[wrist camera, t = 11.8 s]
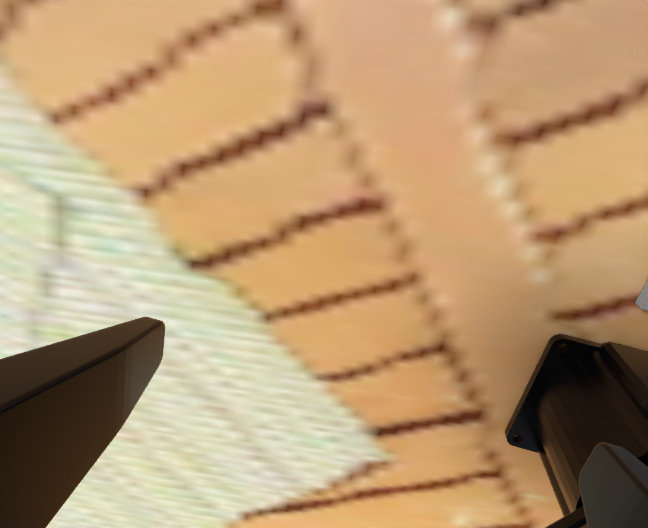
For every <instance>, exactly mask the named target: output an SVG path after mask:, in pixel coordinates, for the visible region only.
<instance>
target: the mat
mask: <svg viewBox="0 0 648 528" xmlns="http://www.w3.org/2000/svg"><path fill="white" fill-rule="evenodd" d="M635 303H636V304H637V305H638V306H639V307H640V308H641V309H644V310H647V311H648V280H647V282H646V284H645V285H644V287H643V289H642V291H641V293H640V294H639V296H638V298H637V300H636V302H635Z"/></svg>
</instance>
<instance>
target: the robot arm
mask: <svg viewBox="0 0 648 528" xmlns="http://www.w3.org/2000/svg"><path fill="white" fill-rule="evenodd" d="M164 336H165V324H164V323H163V321H160V320H156V319H153V318H149V317H142V318H139V319H135V320H132V321H128V322H125V323H122V324H118V325H115V326H112V327H108V328H105V329H101V330H98V331H95V332H91V333H88V334H84V335H81V336H78V337H74V338H71V339H67V340H64V341H61V342H57V343H54V344H50V345H47V346H44V347H40V348H37V349H33V350H30V351H27V352H23V353H20V354H16V355H13V356H10V357H6V358H3V359H0V528H46V527H47V525H48V524H49V523H50V521H51V520H52V519H53V517H54V516H55V515H56V513H57V512H58V511H59V509H60V508H61V507H62V506H63V504H64V503H65V502H66V500H67V499H68V498H69V496H70V495H71V494H72V492H73V491H74V490H75V488H76V487H77V486H78V484H79V483H80V482H81V481H82V479H83V478H84V477H85V475H86V474H87V473H88V471H89V470H90V469H91V467H92V466H93V465H94V463H95V462H96V461H97V460H98V458H99V457H100V456H101V454H102V453H103V452H104V450H105V449H106V448H107V446H108V445H109V444H110V442H111V441H112V440H113V438H114V437H115V436H116V434H117V433H118V432H119V430H120V429H121V428H122V426H123V425H124V423H125V421H126V420H127V418H128V417H129V415H130V413H131V412H132V410H133V408H134V407H135V405H136V403H137V402H138V400H139V398H140V397H141V395H142V393H143V392H144V390H145V388H146V387H147V385H148V383H149V382H150V380H151V378H152V377H153V375H154V373H155V372H156V370H157V368H158V367H159V365H160V363H161V360H162V357H163V348H164ZM561 343H565V346H564V347H563V348H557V346H558V345H559V344H561ZM516 434H519V436H517V437H513V435H516ZM505 435H506V438H507V442H508V443H509V444H511V445H513V446H516V447H520V448H523V449H527V450H530V451H534V452H538V453H539V454H540V457H541V459H542V462H543V465H544V467H545V470H546V472H547V475H548V477H549V480H550V482H551V485H552V487H553V490H554V492H555V495H556V498H557V500H558V503H559V505H560V508H561V510H562V513H563V515H564V517H563V518H561V519H559V520H558V521H556V522H554V523H553V524H551V525H549V526H547V527H546V528H648V352H646V351H642V350H639V349H635V348H631V347H627V346H623V345H619V344H615V343H612V342H608V343H603V344H598V343H594V342H591V341H587V340H583V339H579V338H575V337H571V336H568V335H563V334H558V335H555V336H553V337H551V339H550V340H549V342H548V344H547V346H546V348H545V350H544V352H543V354H542V356H541V358H540V360H539V362H538V364H537V366H536V368H535V370H534V372H533V374H532V376H531V379H530V381H529V383H528V385H527V387H526V389H525V391H524V393H523V395H522V397H521V399H520V401H519V403H518V405H517V407H516V409H515V411H514V413H513V416H512V418H511V420H510V422H509V424H508V426H507V428H506V430H505Z"/></svg>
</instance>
